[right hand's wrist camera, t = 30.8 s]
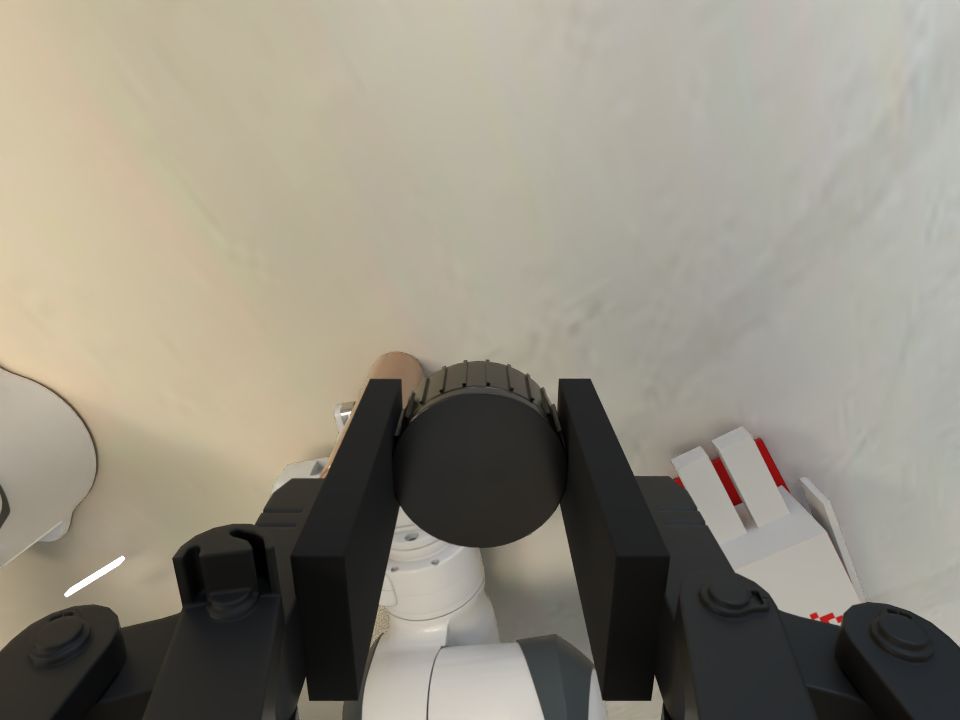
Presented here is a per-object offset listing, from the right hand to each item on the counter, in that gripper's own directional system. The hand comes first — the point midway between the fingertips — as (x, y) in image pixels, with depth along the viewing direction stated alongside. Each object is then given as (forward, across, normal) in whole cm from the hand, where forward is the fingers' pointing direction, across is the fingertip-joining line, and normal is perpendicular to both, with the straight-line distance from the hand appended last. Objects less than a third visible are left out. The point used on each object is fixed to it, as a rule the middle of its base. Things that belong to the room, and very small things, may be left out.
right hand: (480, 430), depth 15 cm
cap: (-2, 0, 0) cm, 2 cm away
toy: (+34, +26, -30) cm, 52 cm away
